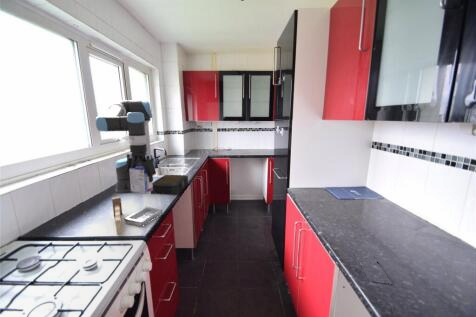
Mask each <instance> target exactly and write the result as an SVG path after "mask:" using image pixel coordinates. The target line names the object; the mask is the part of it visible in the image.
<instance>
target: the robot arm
mask: <svg viewBox="0 0 476 317" xmlns="http://www.w3.org/2000/svg"><path fill="white" fill-rule="evenodd" d="M152 118H153V113H152V109H151V104H150V102H149V101H148V100H135V99H134V100H131V99H130V100H128V99H124V100H123V99H122V100H118V101H115V102H113V103H112V104H110V106H109V107H108V112H107V113H106V114H105V115H104V116H103V115H102V116H96V117H95V127H96V130H97V131H98V132H104V133H105V132H106V133H107V132H128V140H129V141H128V142H129V144H130V145H129V152H131V153H126V158H121V159H117V161H116V162H115V173H116V184H115V193H118V194H125V193H132V192H133V191H131V184H130V170H129V169H130V168H135V167H138V165H139V163H141V165H140V166H143V167H144V169H145V170H146V173H147V175H148V176H147V186H148V189H150V188H152V187H153V185H152V183H153V182H154V175H156V174H157V171H156V158H154V156H153V154H152V153H151V152H152V150H151V140H150V127H149V123H150V122H151V119H152Z"/></svg>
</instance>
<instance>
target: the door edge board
mask: <svg viewBox="0 0 476 317" xmlns="http://www.w3.org/2000/svg"><path fill="white" fill-rule="evenodd" d="M111 201H112V203H111V204H112V209H113V211H112V212H113V217H114V218H115V221H114V222H115V228H116V235H117V234H118V235H122V234H123V230H122V229H123V228H121V227H122V219H121V218H122V217H121V216H123V208H122V207H123V206H122V197H121V196H114V197H112V198H111ZM121 233H122V234H121Z"/></svg>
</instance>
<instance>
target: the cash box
mask: <svg viewBox="0 0 476 317" xmlns="http://www.w3.org/2000/svg"><path fill="white" fill-rule="evenodd" d="M152 185H153V191H150V195H151V194H152V195H168V196H177V195H179V193H181V192H182V191H183V190H184V189H185V188H186V187H187V186H188V185H189V176H188V175H186V174H184V175H183V174H164V175H162V176H161V177H159V178H158V179H156V180H153V182H152Z"/></svg>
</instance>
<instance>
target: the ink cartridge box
mask: <svg viewBox="0 0 476 317" xmlns="http://www.w3.org/2000/svg"><path fill="white" fill-rule="evenodd" d="M140 165H141V163H139V165H138V167H135V168H130V169H129V170H130V184H131V191H132V192H133V193H134V192H135V193H139V194H141V193H142V194H147V193H149V192H150V193H151V191H153V187H152V188H150V189H148V186H147V176H148V175H147V173H146V170H145V169H144V167H143V166H140Z"/></svg>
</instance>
